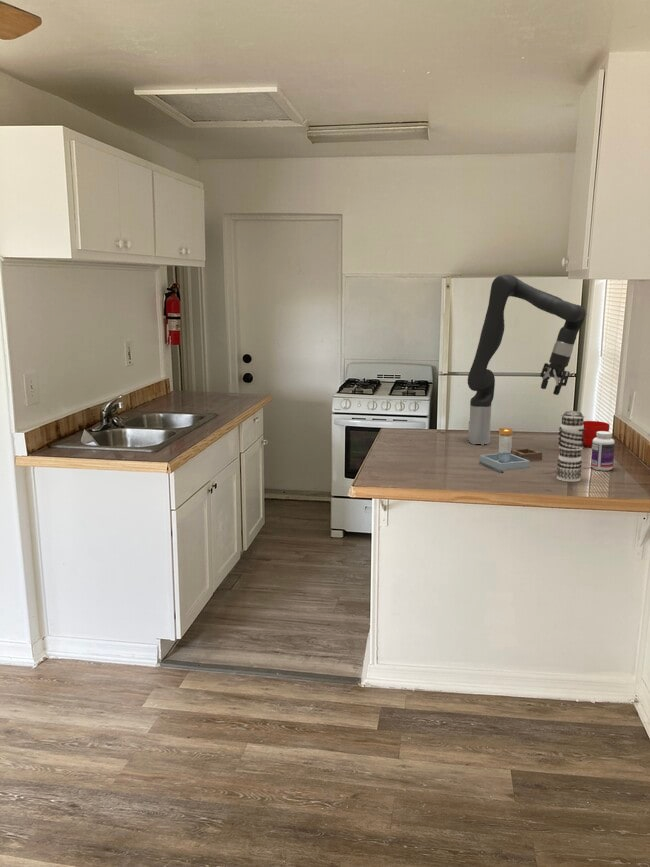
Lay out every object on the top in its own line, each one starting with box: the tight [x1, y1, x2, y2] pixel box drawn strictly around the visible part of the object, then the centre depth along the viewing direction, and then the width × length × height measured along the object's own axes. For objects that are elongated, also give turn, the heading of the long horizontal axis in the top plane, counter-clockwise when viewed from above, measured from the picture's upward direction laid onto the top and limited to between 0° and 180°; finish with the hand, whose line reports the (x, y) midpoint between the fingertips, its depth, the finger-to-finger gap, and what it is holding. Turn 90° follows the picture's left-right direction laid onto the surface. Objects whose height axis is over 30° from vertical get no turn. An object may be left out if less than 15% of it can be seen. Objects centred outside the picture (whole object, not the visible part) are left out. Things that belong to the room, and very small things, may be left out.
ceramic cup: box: [582, 420, 610, 448], centre depth 313 cm, size 13×17×10 cm
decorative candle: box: [556, 410, 586, 483], centre depth 261 cm, size 9×9×25 cm
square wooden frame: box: [511, 447, 543, 462], centre depth 289 cm, size 9×9×4 cm
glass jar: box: [497, 427, 514, 463], centre depth 279 cm, size 5×5×14 cm
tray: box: [479, 453, 531, 474], centre depth 280 cm, size 15×13×4 cm
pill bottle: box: [590, 431, 616, 472], centre depth 275 cm, size 8×8×14 cm
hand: (549, 391), depth 292 cm, fingers open, 8 cm apart
